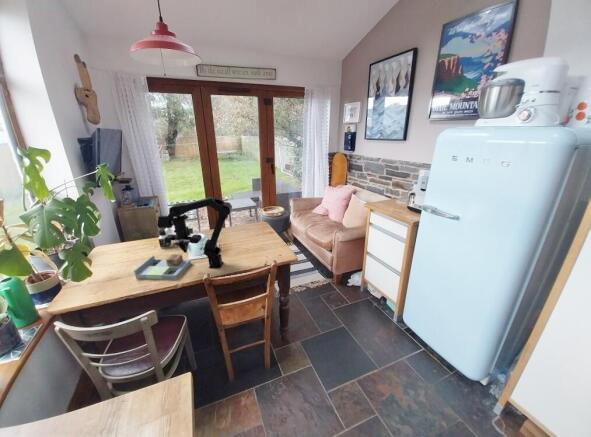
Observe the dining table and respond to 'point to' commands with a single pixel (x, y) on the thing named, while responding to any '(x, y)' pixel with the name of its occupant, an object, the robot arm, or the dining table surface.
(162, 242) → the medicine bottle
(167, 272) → the box
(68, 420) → the dining table surface
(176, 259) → the walnut block
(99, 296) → the dining table surface
